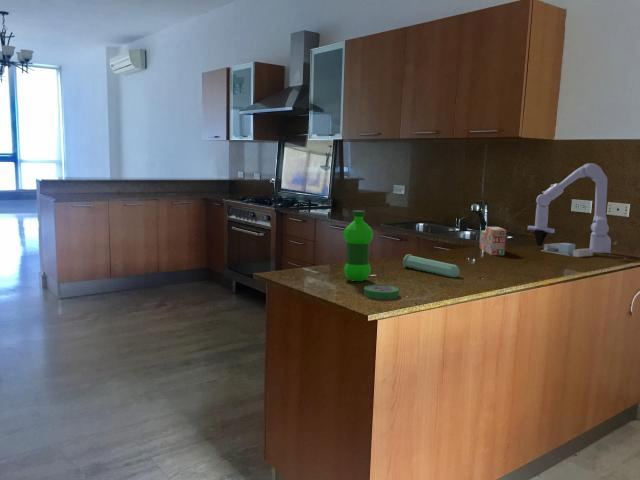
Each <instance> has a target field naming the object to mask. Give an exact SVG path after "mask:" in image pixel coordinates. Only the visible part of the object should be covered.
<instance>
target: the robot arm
mask: <svg viewBox="0 0 640 480" xmlns="http://www.w3.org/2000/svg"><path fill="white" fill-rule="evenodd" d="M586 177H587V178H589V179H590V180H592V181H593V182H594V183H595V191H594V192H595V194H594V197H595V198H594V213H593V214H594V215H593V220H592V223H591V224H590V230H591V233H590V240H589V249H593V253H599V254H605V253H606V254H611V246H612V240H611V237H610V236H609V235H608V233H609V230H610V227H609V225H608V218H607V197H608V177H607V176H606V174H605V172H604V171H603V169H602V167H601V166H599V165H598V164H596V163H593V162H591V163H585V164H583V165H582V166H580V167H579V168H576V169H575V170H574V171H572V173H570V174H569V175H568V176H566V178H564V179H563V180H562V181H560V182H559V183H554V184H553V183H552V184H550V185H549V186H550V187H549V188H547V189H546V190H544V191H541V193H542V194H538V195H537V197H536V199H535V202H536V209H535V221H534V225H527V230H528V231H533V232H532V233H533V235H534V238H535V241H536V245H537V247H541V246H542V247H543V245H544V241H545V239H546V237H547V235H548V234H555V228H552V227H548V222H549V205H550V203H551V201H553V200H555V199H556V198H558V197H559V196H560V195H562V194H563V193H564V189H565V188H566V187H568V186H569V185H570V184H572V183H574V182H575V181H577V180H578V179H581V178H586Z"/></svg>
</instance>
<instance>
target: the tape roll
mask: <svg viewBox="0 0 640 480" xmlns="http://www.w3.org/2000/svg"><path fill="white" fill-rule="evenodd" d="M364 295H365V296H367V297H366V298H368V297H370V298H369V299H372V298H376V299H375V300H394V299H393V298H395V299H398V298H399V297H398V296H399V295H400V289H399V287H396V286H394V285H388V284H369V285H365V286H364V288H363V296H364Z"/></svg>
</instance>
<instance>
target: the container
mask: <svg viewBox="0 0 640 480" xmlns="http://www.w3.org/2000/svg"><path fill="white" fill-rule="evenodd" d="M402 265H403V267H404V268H405V267H408V269H412V268H413V270H418V271H421V270H422V271H421V272H425V271H426V272H425V273H430V272H431V273H430V274H434V273H435V274H436V275H440V276H444V277H449V278H457V277H459V274H460V268H459V267H458V266H457V265H456V264H452V263H447V262H442V261H438V260H434V259H429V258H428V259H427V258H423V257H419V256H414V255H413V254H409V253H408V254H405V256H404V257H403V258H402Z"/></svg>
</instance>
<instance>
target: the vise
mask: <svg viewBox="0 0 640 480" xmlns="http://www.w3.org/2000/svg"><path fill="white" fill-rule="evenodd" d="M540 252H544V253H551V254H554V255H555V254H557V255H561V256H566V257H574V258H584V257H593V256H594V255H593V254H594V252H593V249H590V248H589V247H588V248H577V249H576V248H575V250H573V254H563V253H559V250H553V251H546V250H544V249H540Z"/></svg>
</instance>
